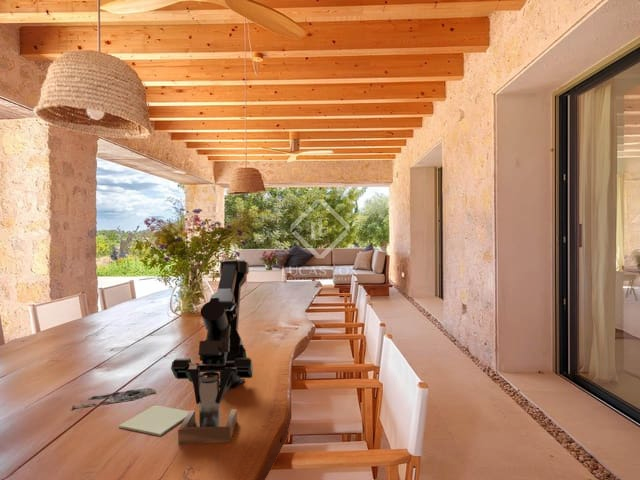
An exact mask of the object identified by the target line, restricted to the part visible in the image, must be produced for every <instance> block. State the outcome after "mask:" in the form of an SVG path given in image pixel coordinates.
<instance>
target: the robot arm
mask: <svg viewBox="0 0 640 480" xmlns="http://www.w3.org/2000/svg"><path fill="white" fill-rule="evenodd" d="M249 268H250V267H249V262H247V261H246V260H245V259H232V258H231V259H230V258H229V259H223V260H222V261H220V262H219V273H220V278H219V282H218V287H217V291H215V292H214V293H213V294H211V296H210V299H209V301H207V302H206V303H204V305H202V307H201V308H200V316H201V319H202V322H203V325H204V328H205V330H206V337H205V340H200V341H199V344H198V345H199V346H198V356H199V361H201V363H198V362H192V360H191V358H189V357H188V358H175V359H174V360H173V361H172V362H171V367H170V369H171V372H172V373H173V376H174V377H175V379H177V380H188V382H191V383H192V385H193V390H194V391H193V392H194V396H195V403H196V404H197V405H199V375H200V374H202V373H206V372H216V373H219V375H220V378H219V394H218V404H219V405H220V404H221V402H222V400H223V398H224V397H225V395H226V393H227V391H228V390H229V389H230V388H231V389H235V388H237V387H238V386H240V385H241V384H242V383H244V382H246V379H252V378H253V373H254V367H253V361H252V360H253V359H251V358H250V357H247V350H246V348H245V345H244V344H243V340H242V338H241V336H240V334H239V331H238V330H239V318H240V317H239V316H240V306H241V305H240V303H241V288H242V287H243V286H244V284H245V283H246V282H247V275H248V274H249V271H250V270H249Z"/></svg>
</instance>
